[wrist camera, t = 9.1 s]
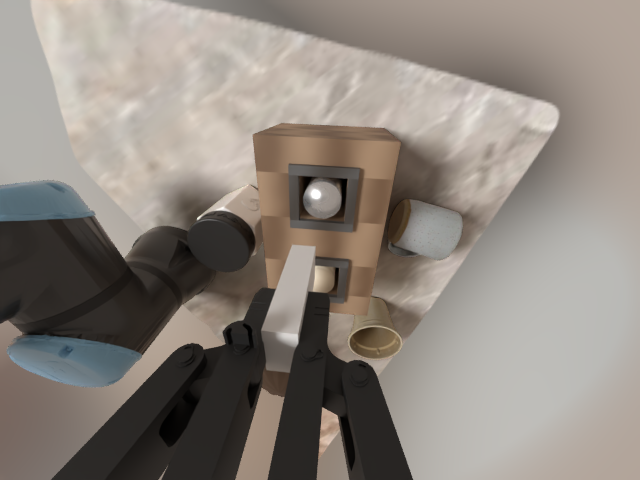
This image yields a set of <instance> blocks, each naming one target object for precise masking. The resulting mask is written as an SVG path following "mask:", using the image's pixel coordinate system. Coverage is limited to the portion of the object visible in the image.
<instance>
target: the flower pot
mask: <svg viewBox="0 0 640 480" xmlns="http://www.w3.org/2000/svg"><path fill="white" fill-rule="evenodd" d="M402 345H403V341H402V338H401V336H400V334H399V333H398V332H397V330H396V329H395V328H394V326H393V323H392V320H391V317H390V314H389V312H388V309H387V306H386V304H385V302H384V301H383V300H381V299H380V298H374V297H371V299H370V304H369V309H368V314H367V316H363V315H355V317H354V323H353V329H352V331H351V334H350V335H349V337H348V347H349V349H350V350H351V351H352V352H353V353H354V354H356V355H357V356H359V357H362V358H365V359H370V360H382V359H387V358H390V357H392V356H394V355H396V354H397V353H398V352H399V351H400V350H401V348H402Z"/></svg>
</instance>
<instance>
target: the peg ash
mask: <svg viewBox="0 0 640 480" xmlns="http://www.w3.org/2000/svg"><path fill="white" fill-rule="evenodd" d="M334 282H335V267H326V266H315V281H314V287H313V292H322V293H327V292H329V291H331V290H332V288H333V287H334Z"/></svg>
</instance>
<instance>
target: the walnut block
mask: <svg viewBox="0 0 640 480" xmlns="http://www.w3.org/2000/svg"><path fill="white" fill-rule="evenodd" d="M253 143H254V153H255V163H256V173H257V183H258V193H259V203H260V213H261V222H262V232H263V242H264V252H265V262H266V272H267V282H268V288H271V289H276V288H277V285H278V282H279V280H280V277H281V274H282V271H283V269H284V266H285V263H286V260H287V258H288V255H289V252H290V249H291V247H292V245H303V246H316V252H315V266H326V267H335V282H334V287H333V288H332V290H331V291H329V292H327V294H328V297H329V299H330V310H329V312H333V313H343V314H353V315H363V316H367V314H368V309H369V304H370V299H371V294H372V288H373V283H374V278H375V273H376V268H377V263H378V258H379V253H380V248H381V242H382V237H383V232H384V227H385V222H386V217H387V212H388V207H389V202H390V196H391V191H392V186H393V181H394V176H395V171H396V166H397V161H398V156H399V151H400V145H401V142H400V141H399V140H398V139H396V138H395V137H394V136H393V135H392V134H390V133H389V132H388V131H387V130H386V129H384V128H370V127H349V126H329V125H308V124H288V123H281V124H279V125H276V126H273V127H271V128H268V129H266V130H263V131H261V132H258V133H255V134H253ZM312 176H313V177H329V178H345V179H346V182H345V187H342V199H341V206H340V209H339V211H338V212H337V213H336V214H335V215H333V216H332V217H329V218H325V219H321V218H316V217H314V216H312V215H311V214H309V213H308V211H307V210H306V209H305V207H304V203H303V197H304V193H305V191H306V189H307V187H308V184H309V182H310V180H311V178H312Z"/></svg>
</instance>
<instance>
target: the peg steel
mask: <svg viewBox="0 0 640 480" xmlns="http://www.w3.org/2000/svg"><path fill="white" fill-rule="evenodd" d="M342 182H343V178H329V177H313V176H312V178H311V180H310V182H309V184H308V187H307V189H306V191H305V193H304V197H303V203H304V207H305V209H306V210H307V211H308V213H309V214H311V215H312V216H314V217H316V218H321V219H325V218H329V217H332V216H333V215H335V214H336V213H337V212H338V211H339V209H340V206H341V199H342Z"/></svg>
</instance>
